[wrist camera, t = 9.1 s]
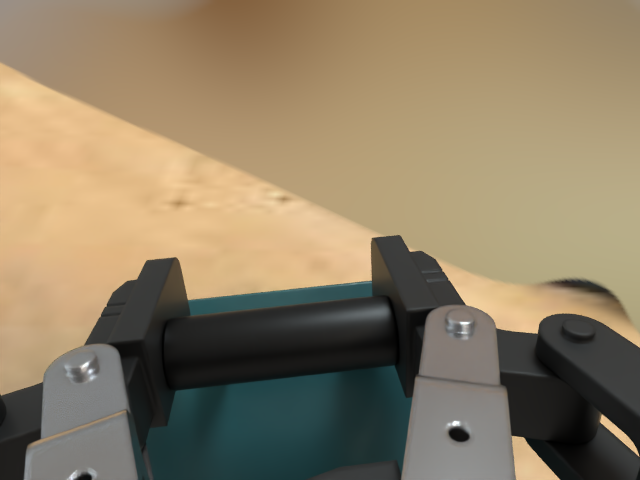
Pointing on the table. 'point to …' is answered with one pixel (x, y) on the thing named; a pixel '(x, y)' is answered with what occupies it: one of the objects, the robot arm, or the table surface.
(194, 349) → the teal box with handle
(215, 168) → the table surface
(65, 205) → the table surface
